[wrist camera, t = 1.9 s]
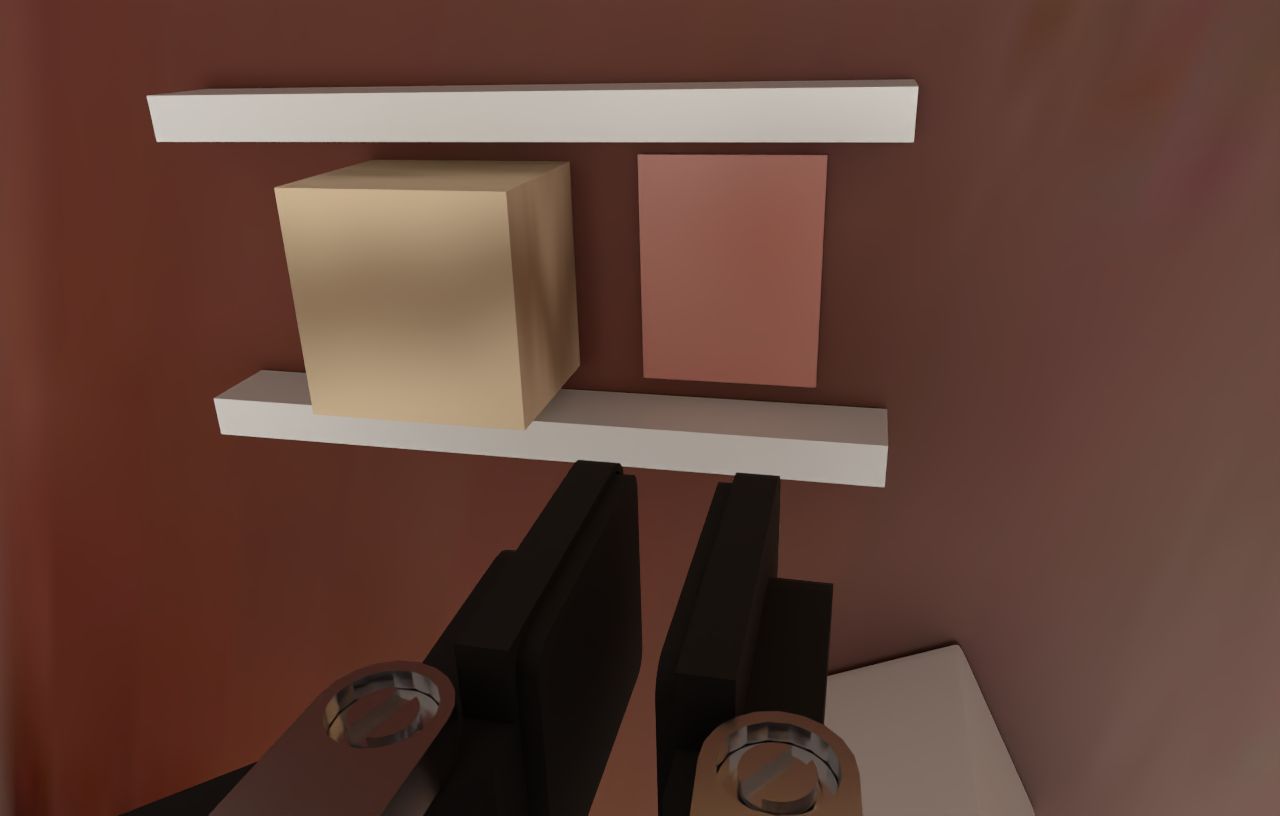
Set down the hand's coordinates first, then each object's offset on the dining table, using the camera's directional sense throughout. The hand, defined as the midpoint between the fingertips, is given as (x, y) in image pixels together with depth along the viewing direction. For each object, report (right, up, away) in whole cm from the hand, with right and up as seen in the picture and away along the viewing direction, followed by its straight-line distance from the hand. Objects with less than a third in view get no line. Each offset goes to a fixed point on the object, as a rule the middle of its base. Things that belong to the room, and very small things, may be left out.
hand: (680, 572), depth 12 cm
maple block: (-5, +6, +16) cm, 18 cm away
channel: (-3, +6, +15) cm, 17 cm away
